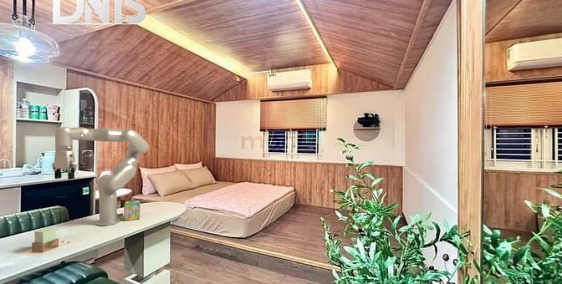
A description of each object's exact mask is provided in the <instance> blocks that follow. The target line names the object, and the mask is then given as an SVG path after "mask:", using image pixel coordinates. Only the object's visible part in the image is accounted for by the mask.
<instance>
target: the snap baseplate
mask: <svg viewBox="0 0 562 284" xmlns="http://www.w3.org/2000/svg"><path fill="white" fill-rule="evenodd" d="M58 239H59V247H56V248H54V249H51V250H49V251H46V252H43V253H41V252H34V251H32V248H29V249H27V250H24V251H21V252H19V253H17V254H18V255H22V256H23V255H24V256H31V257H37V258H40V257H43V256H46V255H48V254H51V253H54V252H56V251H59V250H61V249H64V248H66V247H68V246H71V245H73V244H76V243H79V242H80V241H79V240H71V239H65V238H64V239H63V238H58Z"/></svg>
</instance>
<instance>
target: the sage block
mask: <svg viewBox="0 0 562 284" xmlns="http://www.w3.org/2000/svg"><path fill="white" fill-rule="evenodd" d="M56 230H57V229H56V227H49V226H48V227H44V228H40V229H37V230H35V231H34V242H35V243H42V244H44V243H46V242H49V241H52V240H55V239H56V238H57V234H56V233H57V232H56Z"/></svg>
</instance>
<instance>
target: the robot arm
mask: <svg viewBox="0 0 562 284" xmlns="http://www.w3.org/2000/svg"><path fill="white" fill-rule="evenodd" d="M73 141H94V142H95V141H96V142H113V143H115V142H117V143H118V142H119V143H128V145H127V154H126V156H125V157H124V158H123V159H122V160H121V161H120V162H118V163H117V164H116V165H115V166H114V167H113V169H112V173H113V174H104V175H101V176H100V177H99V178H98V180H97V189H98V204H99V205H98V207H99V211H98V213H99V221H97V222H96V226H97V227H98V226H99V227H105V226H106V227H107V226H112V225H115V224H118V223H120V221H121V219H120V217H122V216H123V217H124V212H121V213H118V200H117V199H118V195H117V193H118V192H117V191H118V190H121V189H122V188H124V186H125V185H127V184H128V183H129V181H131V180H132V179H133V178H134V176H135V175H136V172H137V168H136V165H137V164H138V163H139V161H140V157H141V155H140V154H146V153H147V152H148V151H149V149H150V145H149V143H148V142H147V141H146V140H145V139H144V137H142V136H141V135H140V134H139V133H138V132H137V131H135V130H134V129H132V128H131V129H123V128H122V129H121V128H107V127H106V128H105V127H104V128H102V127H100V128H99V127H98V128H86V127H81V126H80V127H79V126H77V127H68V126H67V127H62V126H60V127H59V126H58V127H56V128H55V129H54V143H55V144H54V148H55V149H54V150H55V153H54V161H53V163H51V167H52V170H53V172H54V179H55V180H58V179H62V170H67V171H68V172H67V180H68V181H69V180H74V179H75V177H76V176H75V173H76V170H77V168H78V164H77V163H76V156H75V153H74V150H73Z"/></svg>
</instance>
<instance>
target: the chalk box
mask: <svg viewBox="0 0 562 284" xmlns="http://www.w3.org/2000/svg"><path fill="white" fill-rule="evenodd" d="M134 198H135V196H133V198H132V200H126V201H125V202H124V204H123V222H129V221H138V220H140V217H141V200H140V199H139V200H134Z"/></svg>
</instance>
